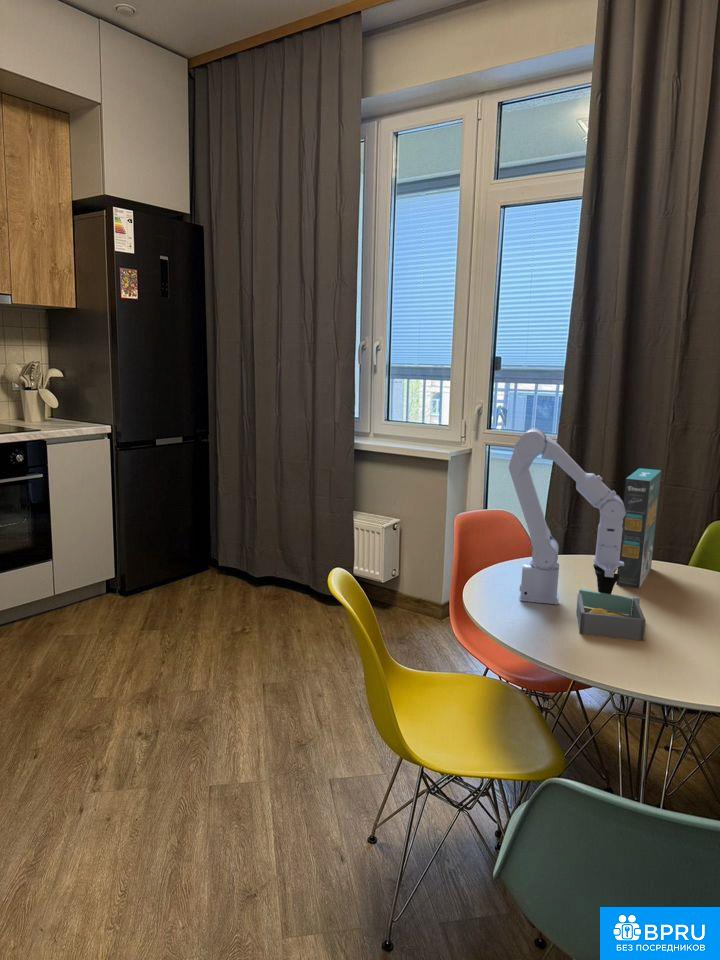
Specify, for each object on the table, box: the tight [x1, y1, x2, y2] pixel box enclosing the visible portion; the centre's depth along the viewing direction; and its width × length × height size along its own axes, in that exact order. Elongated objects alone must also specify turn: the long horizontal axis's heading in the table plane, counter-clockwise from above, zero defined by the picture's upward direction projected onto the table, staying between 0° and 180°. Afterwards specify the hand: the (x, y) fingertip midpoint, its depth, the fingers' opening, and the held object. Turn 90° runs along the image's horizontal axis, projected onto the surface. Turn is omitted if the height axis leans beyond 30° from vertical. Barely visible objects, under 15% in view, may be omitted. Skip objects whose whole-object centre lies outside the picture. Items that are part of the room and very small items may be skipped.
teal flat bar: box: [578, 588, 641, 616], centre depth 167 cm, size 14×2×4 cm, turn 61°
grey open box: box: [575, 593, 646, 642], centre depth 159 cm, size 15×16×5 cm
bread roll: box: [587, 608, 623, 616], centre depth 158 cm, size 8×9×4 cm
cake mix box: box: [615, 468, 662, 589], centre depth 193 cm, size 22×6×30 cm, turn 149°
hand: (603, 596), depth 171 cm, fingers open, 4 cm apart
